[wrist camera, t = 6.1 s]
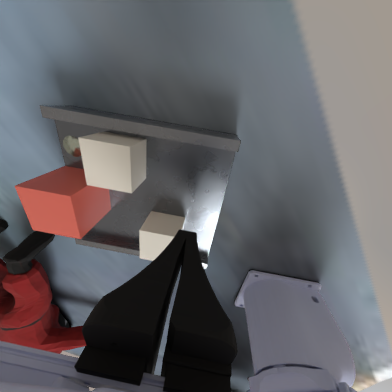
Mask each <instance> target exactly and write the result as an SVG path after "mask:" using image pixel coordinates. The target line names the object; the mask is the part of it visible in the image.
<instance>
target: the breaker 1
mask: <svg viewBox="0 0 392 392" xmlns="http://www.w3.org/2000/svg"><path fill="white" fill-rule="evenodd" d="M78 139H79V145H80V150H81V156H82V161H83V167H84V172H85V178H86V183H87V185H89V186H95V187H100V188H106V189H111V190H116V191H122V192H127V193H133V192H134V191H135V189H136V188H137V187H138V186H139V185H140V184H141V183H142V182H143V181H144V180H145V179H146V143H147V139H144V138H138V137H133V136H127V135H121V134H116V133H110V132H100V133H96V134H91V135H87V136H83V137H78Z"/></svg>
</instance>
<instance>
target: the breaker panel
mask: <svg viewBox="0 0 392 392" xmlns="http://www.w3.org/2000/svg"><path fill="white" fill-rule="evenodd" d="M40 109H41V113H42V116H43V117H44V118H49V119H55V123H56V128H57V132H58V136H59V140H60V145H61V149H62V153H63V157H64V162H65V166H69V167H75V168H80V169H84V167H83V161H82V156H81V150H80V145H79V139H78V137H83V136H87V135H91V134H96V133H100V132H110V133H116V134H121V135H127V136H133V137H138V138H144V139H147V143H146V179H145V180H144V181H143V182H142V183H141V184H140V185H139V186H138V187H137V188H136V189H135V191H134V192H133V193H127V192H122V191H116V190H111V189H109V193H110V202H111V210H110V211H109V212H108V213H107V214H106V215H105V216H104V217H103V218H102V219H101V220H100V221H99V222H98V223H97V224H96V225H95V226H94V227H93V228H92V229H91V230H90V231H89V232H88V233H87V234H86V235H85V236H83V237H82V238H81V239H77V238H75V241H76V244H80V245H85V246H90V247H95V248H100V249H106V250H111V251H116V252H121V253H126V254H132V255H137V256H140V241H139V230H140V228H141V227H142V225H143V223H144V222H145V220H146V219H147V217H148V215H149V214H150V212H151V211H154V212H159V213H165V214H170V215H175V216H181V217H185V222H184V228H183V230H186V231H191V232H196V233H197V243H198V249H199V253H200V257H201V261H202V264H203V267H204V269H206V268H207V264H208V255H209V251H210V247H211V243H212V240H213V236H214V232H215V228H216V225H217V221H218V217H219V213H220V210H221V206H222V202H223V198H224V194H225V191H226V187H227V183H228V179H229V176H230V172H231V168H232V164H233V161H234V157H235V153H236V152H238V150H239V147H240V143H241V140H240V139H239V138H238V136H237V135H235V134H229V133H223V132H218V131H212V130H206V129H201V128H195V127H189V126H183V125H178V124H172V123H166V122H161V121H155V120H149V119H144V118H138V117H132V116H127V115H121V114H115V113H110V112H104V111H98V110H92V109H87V108H81V107H75V106H40Z"/></svg>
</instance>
